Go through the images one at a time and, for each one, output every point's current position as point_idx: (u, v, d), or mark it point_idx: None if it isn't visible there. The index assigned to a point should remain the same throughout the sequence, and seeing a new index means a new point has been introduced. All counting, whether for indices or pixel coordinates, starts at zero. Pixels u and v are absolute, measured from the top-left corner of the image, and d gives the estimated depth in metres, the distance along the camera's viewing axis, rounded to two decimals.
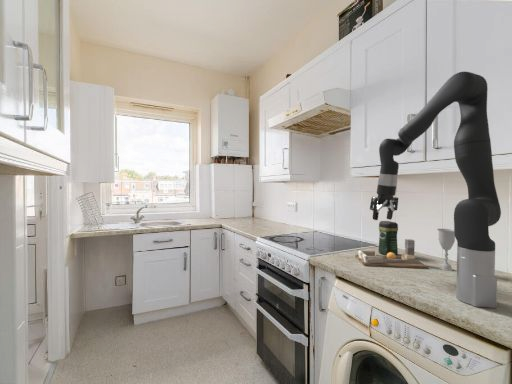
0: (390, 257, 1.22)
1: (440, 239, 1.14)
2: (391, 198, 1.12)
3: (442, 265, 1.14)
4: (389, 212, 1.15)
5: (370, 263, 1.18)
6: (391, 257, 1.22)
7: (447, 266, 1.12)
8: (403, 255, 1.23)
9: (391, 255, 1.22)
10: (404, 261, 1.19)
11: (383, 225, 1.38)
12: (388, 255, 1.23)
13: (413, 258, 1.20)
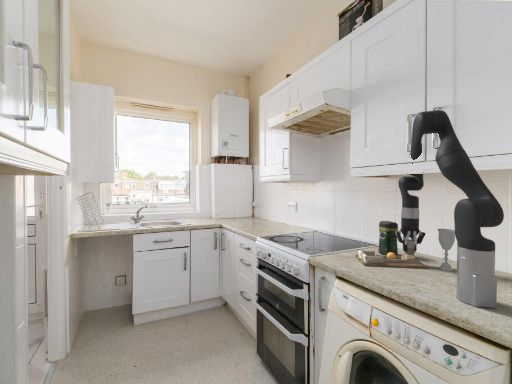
0: (390, 257, 1.22)
1: (440, 239, 1.14)
2: (417, 229, 1.21)
3: (442, 265, 1.14)
4: None
5: (370, 263, 1.18)
6: (391, 257, 1.22)
7: (447, 266, 1.12)
8: (403, 255, 1.23)
9: (391, 255, 1.22)
10: (404, 261, 1.19)
11: (383, 225, 1.38)
12: (388, 255, 1.23)
13: (413, 258, 1.20)
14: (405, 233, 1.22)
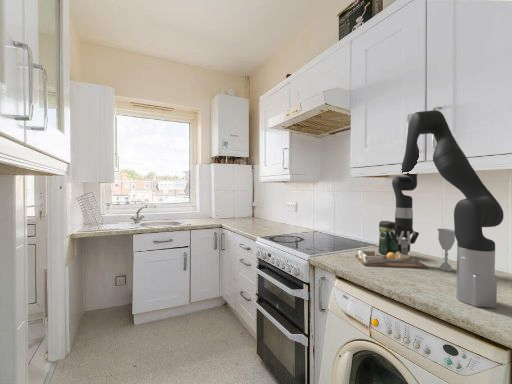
0: (390, 257, 1.22)
1: (440, 239, 1.14)
2: (410, 229, 1.21)
3: (442, 265, 1.14)
4: None
5: (370, 263, 1.18)
6: (391, 257, 1.22)
7: (447, 266, 1.12)
8: (397, 255, 1.24)
9: (391, 255, 1.22)
10: (404, 261, 1.19)
11: (383, 225, 1.38)
12: (388, 255, 1.23)
13: (406, 258, 1.20)
14: (399, 233, 1.22)
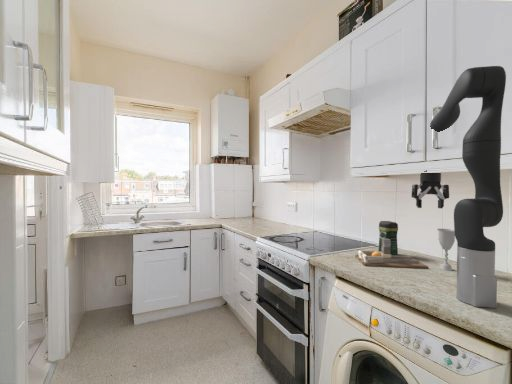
0: None
1: (440, 239, 1.14)
2: (438, 185, 1.09)
3: (442, 265, 1.14)
4: (439, 201, 1.10)
5: (370, 263, 1.18)
6: None
7: (447, 266, 1.12)
8: (380, 254, 1.25)
9: None
10: (404, 261, 1.19)
11: (383, 225, 1.38)
12: None
13: (389, 257, 1.21)
14: (424, 188, 1.09)
